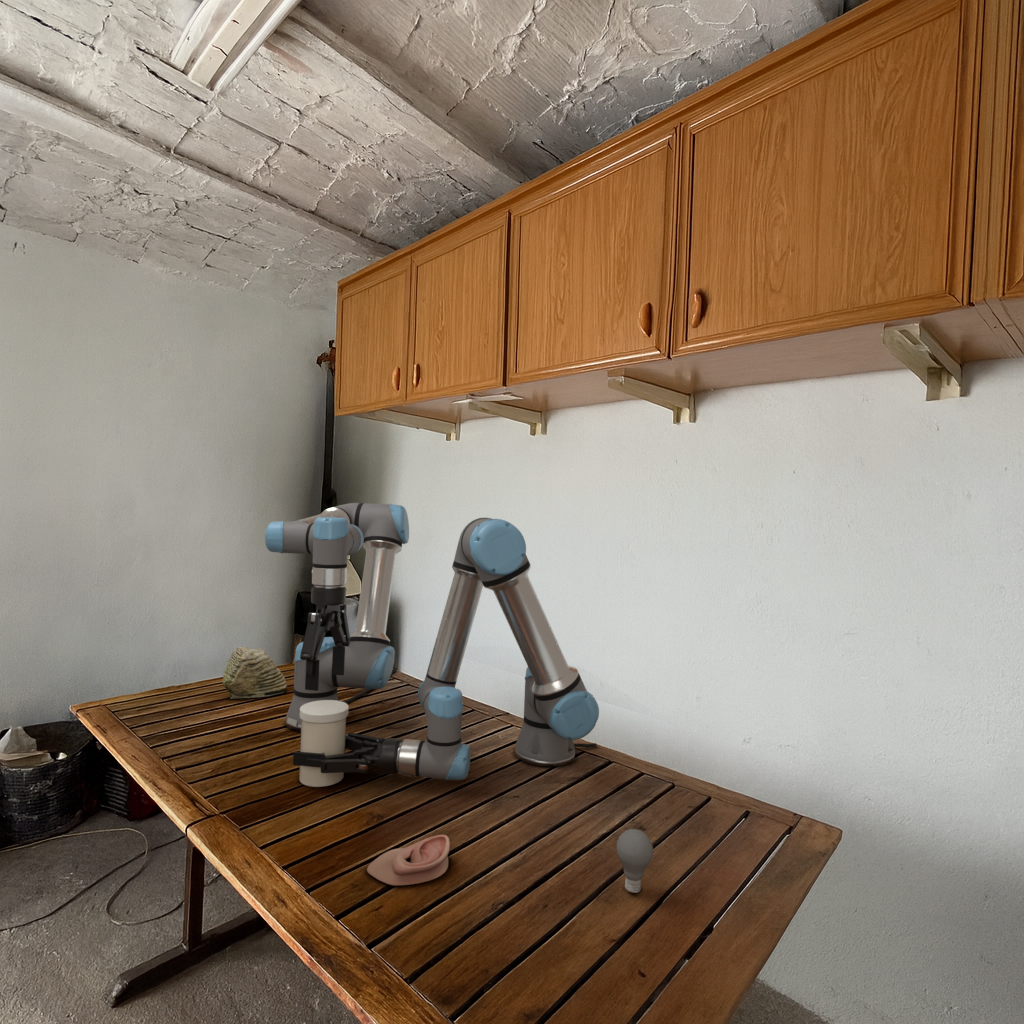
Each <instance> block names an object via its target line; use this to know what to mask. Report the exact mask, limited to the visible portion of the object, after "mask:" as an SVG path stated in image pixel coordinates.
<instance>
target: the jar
mask: <svg viewBox="0 0 1024 1024" xmlns="http://www.w3.org/2000/svg"><path fill="white" fill-rule="evenodd" d="M346 735H347V717H345V718H344V719H342V720H339V721H335V722H329V723H312V722H307V721H304V720H302V719H301V731H300V744H299V745H300V746H299V747H300V748H299V752H309V753H321V754H322V753H324V754H325V756H329V755H337V754H345V753H346V749H345V737H346ZM298 770H299V773H298V774H299V775H298V781H299V782H300V783H301V784H302V785H304V786H307V787H313V788H321V787H329V786H332V785H335V784H338V783H339V782H341V781H342V780H343V779H344V777H345V773H321V767H311V766H299V769H298Z"/></svg>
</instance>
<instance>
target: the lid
mask: <svg viewBox="0 0 1024 1024" xmlns="http://www.w3.org/2000/svg"><path fill="white" fill-rule="evenodd" d="M348 716H349V703H347V704H346V703H344V701H341V700H339V701H336V700H319V701H313V702H309V703H306V704H304V705H302V706H301V707H300V718H301V719H302V720H304V721H307V722H312V723H329V722H335V721H339V720H342V719H344V718H345V717H346V718H347V717H348Z"/></svg>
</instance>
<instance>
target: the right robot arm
mask: <svg viewBox="0 0 1024 1024" xmlns="http://www.w3.org/2000/svg"><path fill="white" fill-rule="evenodd" d="M526 553H527V544H526V540H525V538H524V535H523V533H522V532H521V531H520V529H519V528H517V526H515V525H514V524H512V523H511V522H509V521H507V520H505V519H502V518H501V519H500V518H492V517H478V518H475V519H472V520H471V521H470V522H468V523H467V524H466V525H465V527H464V528H463V529H462V531H461V533H460V535H459V538H458V542H457V546H456V549H455V554H454V559H453V561H452V566H451V568H452V570H453V573H454V574H453V578H452V581H451V585H450V588H449V592H448V595H447V599H446V603H445V605H444V609H443V614H442V617H441V620H440V624H439V628H438V631H437V635H436V637H435V642H434V645H433V648H432V653H431V655H430V660H429V663H428V666H427V670H426V673H425V674H426V675H425V677H424V680H423V681H421V683H420V685H418V686H419V687H418V690H417V697H418V703H419V704H420V706H421V708H422V710H423V712H424V714H425V717H426V719H427V736H426V740H420V739H408V738H405V739H404V740H402V738H394V737H393V738H391V737H386V738H385V737H374V736H370V735H365V734H360V733H355V732H348V733H347V734H346V737H345V750H349V751H351V752H345V754H337V755H329V756H325V754H324V753H322V754H321V753H309V752H300V751H297V750H295V751H294V752H293V753H292V754H293V756H292V757H293V759H292V766H299V767H300V766H311V767H321V773H344V774H345V773H358V774H359V773H361V774H367V773H368V772H369V768H372V767H378V769H379V772H380V773H381V774H382V775H390V776H391V775H392V776H397V775H398V774H399V776H407V777H410V778H412V779H414V778H415V777H417V778H427V779H429V778H430V779H439V780H445V781H463V780H465V779H466V778H467V777H468V775H469V772H470V771H469V770H470V767H471V755H472V754H471V746H470V745H469V744H466V743H463V742H462V725H463V724H462V723H463V710H464V703H463V692H462V691H461V689H459V688H456V686H457V685H456V684H457V682H458V677H459V674H460V670H461V666H462V664H463V660H464V656H465V652H466V648H467V645H468V642H469V638H470V635H471V631H472V628H473V624H474V620H475V617H476V614H477V610H478V606H479V604H480V603H479V602H480V599H481V596H482V592H483V590H484V589H483V588H485V589H487V590H491V591H493V594H494V595H495V598H496V600H497V602H498V605H499V606H500V609H501V611H502V613H503V615H504V618H505V619H506V621H507V624H508V626H509V628H510V630H511V631H510V632H511V633H512V635H513V637H514V640H515V641H516V644H517V646H518V648H519V650H520V653H521V654H522V657H523V659H524V662H525V663H526V665H527V667H526V669H525V676H524V698H523V700H524V701H523V723H522V725H521V726H522V727H521V729H520V731H519V734H518V736H517V739H516V742H515V746H514V754H515V757H517V759H519V760H520V761H522V762H524V763H526V764H529V765H532V766H538V767H547V768H550V767H560V766H566V765H568V764H570V763H573V761H574V760H575V758H576V748H596V747H597V743H596V742H594V743H574V741H577V740H580V739H582V738H585V737H586V736H588V735H589V734H590V733H591V732H592V731H593V730H594V728H595V727H596V725H597V722H598V720H599V716H600V707H599V704H598V701H597V700H596V698H595V697H594V695H593V694H592V693H591V692H589V691H588V690H587V688H586V686H585V684H584V681H583V679H582V677H581V674H580V673H579V670H578V668H577V667H574V666H572V665H569V664H568V662H567V660H566V657H565V656H564V655H565V654H564V653H563V651H562V648H561V646H560V644H559V641H558V639H557V638H556V635H555V632H554V631H553V629H552V626H551V624H550V622H549V620H548V617H547V615H546V613H545V610H544V608H543V606H542V604H541V601H540V599H539V598H538V595H537V593H536V590H535V588H534V586H533V584H532V582H531V578H530V577H529V573H530V570H531V567H532V565H531V563H530V560H529V558H528V556H527V554H526Z"/></svg>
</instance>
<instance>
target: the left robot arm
mask: <svg viewBox="0 0 1024 1024" xmlns="http://www.w3.org/2000/svg"><path fill="white" fill-rule="evenodd" d="M409 540H410V525H409V517H408V512H407V510H406V507H405V506H403V505H400V504H393V503H370V502H368V503H367V502H350V503H345V504H344V503H343V504H339V505H336V506H332V507H329V508H326V509H324V510H323V511H322V512H321V513H319V514H316V515H312V516H309V517H305V518H302V519H301V518H300V519H298V520H292V521H284V520H281V521H271V522H270V523H269V524H268V525H267V526H266V529H265V532H264V543H265V548H266V549H267V550H268V551H269V552H270V553H279V554H298V555H299V554H302V555H303V554H304V555H312V570H311V572H310V573H311V584H312V585H313V586H312V587H311V591H310V592H311V593H310V602H311V604H313V605H315V606H316V610H315V612H311V611H309V612H308V614H307V624H306V629H305V632H304V637H303V641H302V642H300V643H298V644H297V645H296V648H295V655H294V659H293V661H294V672H293V695H292V696H293V697H292V699H291V702H290V704H289V708H288V711H287V713H286V715H285V726H286V728H287V729H289V730H291V731H294V732H295V731H296V732H301V718H300V707H301V706H302V705H304V704H306V703H309V702H313V701H319V700H336V701H340V699H339V695H338V688H344V689H345V688H346V689H347V688H348V689H364V690H363V691H362V692H359V693H357V694H356V695H354V696H352V697H350V698H347V699H345V700H344V701H343V702H344V703H346V704H349V703H350V702H353V701H354V700H356V699H359V698H360V697H362V696H364V695H366V694H367V693H369V692H371V691H372V690H381V689H383V688H384V687H385V686H386V685H387V684H388V683H389V681H390V678H391V675H392V674H393V673H395V672H396V671H398V668H397V667H395V668H394V664H395V657H396V656H395V655H396V650H395V647H393V646H391V640H390V638H389V637H388V636H387V634H386V633H387V626H388V618H389V610H390V603H391V602H390V601H391V594H392V587H393V579H394V571H395V564H396V555H397V554H398V553H400V552H401V551H402V549H403V545H405V544H408V542H409ZM361 548H363V549H364V550H365V558H364V566H363V571H362V572H363V573H362V580H361V587H360V592H359V601H358V607H357V615H356V621H355V628H354V632H352V633H351V634H350V629H349V623H348V616H347V604H345V603H346V602H347V587H346V586H345V585H346V584H347V583H348V556H349V557H350V556H351V555H355V554H356V553H358V551H360V549H361ZM329 631H330V635H331V636H326V634H327V633H329Z"/></svg>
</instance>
